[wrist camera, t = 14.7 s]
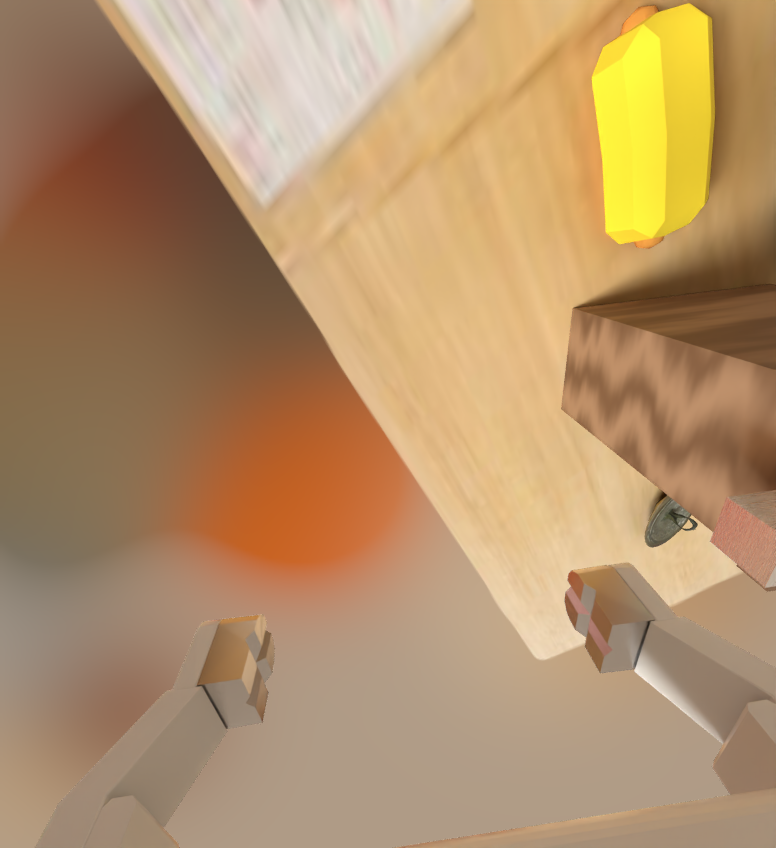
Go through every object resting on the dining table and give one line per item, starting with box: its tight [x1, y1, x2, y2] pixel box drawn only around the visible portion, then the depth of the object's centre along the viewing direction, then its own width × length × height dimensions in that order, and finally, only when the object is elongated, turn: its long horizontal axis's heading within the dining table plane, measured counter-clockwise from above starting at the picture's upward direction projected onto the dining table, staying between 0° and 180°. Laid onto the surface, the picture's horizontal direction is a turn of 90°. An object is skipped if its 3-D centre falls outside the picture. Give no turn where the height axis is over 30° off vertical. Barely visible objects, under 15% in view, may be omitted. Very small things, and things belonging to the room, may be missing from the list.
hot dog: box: [592, 3, 715, 248], centre depth 31 cm, size 18×7×8 cm
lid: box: [645, 495, 698, 547], centre depth 52 cm, size 11×10×5 cm
